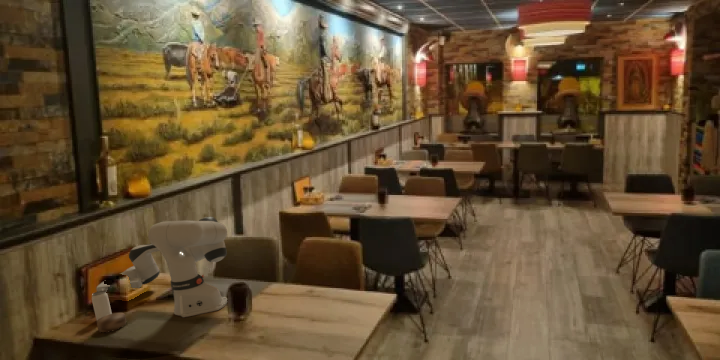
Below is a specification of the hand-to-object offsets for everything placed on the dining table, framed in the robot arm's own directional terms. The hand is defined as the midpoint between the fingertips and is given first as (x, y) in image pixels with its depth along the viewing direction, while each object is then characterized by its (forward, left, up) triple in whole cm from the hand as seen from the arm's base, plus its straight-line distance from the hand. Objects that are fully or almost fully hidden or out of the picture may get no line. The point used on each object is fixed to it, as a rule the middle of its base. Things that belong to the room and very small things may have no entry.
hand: (112, 291), depth 262 cm
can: (0, +12, -8) cm, 15 cm away
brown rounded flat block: (-9, +24, -8) cm, 27 cm away
